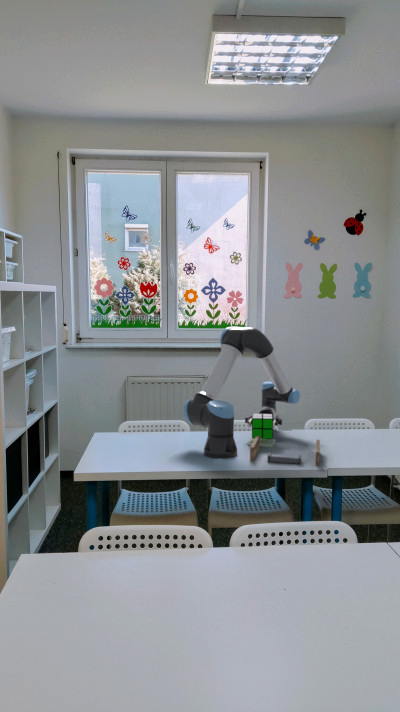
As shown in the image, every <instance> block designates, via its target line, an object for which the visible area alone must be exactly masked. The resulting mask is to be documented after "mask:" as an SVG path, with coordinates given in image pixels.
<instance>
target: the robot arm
mask: <svg viewBox="0 0 400 712" xmlns="http://www.w3.org/2000/svg"><path fill="white" fill-rule="evenodd" d="M219 338H220V341H219V344H220V346H219V347H220V350H221V351H220V353H219V354H218V357H217V359H216V360H215V363H214V364H213V367H212V369H211V370H210V373H209V375H208V376H207V378H206V380H205V381H204V384H203V386H202V388H201V390H200V391H197V392H196V393H195V394H194V396H193V398H189V399H188V400H186V402H185V403H184V405H183V408H182V410H183V411H182V412H183V417H184V419H185V421H186V422H187V423H189V424H191V425H194V426H200V427H202V428H206V429H207V437H206V441H205V444H204V447H203V454H204V456H206V457H209V458H212V459H214V458H215V459H228V458H229V459H230V458H233V457H235V456H237V455H238V448H237V447H238V446H237V444H236V441H235V438H234V432H235V431H234V429H235V425H234V424H235V412H234V410H235V409H234V408H235V407H234V406H233V404H232V403H230V402H228V401H225V400H220V399H219V400H218V398H219V395H220V393H221V392H222V391H223V388H224V386H225V384H226V381H227V380H228V377H229V375H230V373H231V372H232V370H233V368H234V365H235V363H236V362H237V360H238V359H240V358H242V356H243V354H244V352H251V353H252V354H254V356H255V358H257V359H259V360H260V362H261V365H262V366H263V368H264V370H265V372H266V373H267V375H268V377H269V379H270V380H271V381H264V382H263V383H262V384H261V409H260V411H259V413H258V414H272V415H273V430H274V429H275V428H276V426H279V425H280V426H282V425H283V419H281V417H280V416H279V415H276V413H277V402H280V403H284V404H289V405H291V404H292V405H296V404H298V403H299V401H300V399H301V393H300V391H299V390H298V389H296V388H294V389H293V387H292V385H291V383H290V381H289V379H288V377H287V375H286V374H285V372H284V370H283V368H282V366H281V364H280V362H279V360H278V359H277V356H276V355H275V353H274V347H273V346H274V345H272V343H271V341H270V339H268V337H267V336H266V335H265V334H264V333H263V332H262V331H260V330H259V328H258V329H257V328H255V327H252V326H251V327H247V326H246V327H245V326H244V327H243V326H228V327H226V328H225V329H224V330H222V332H221V334H220V337H219ZM244 423H245V424H247V425H248V428H252V414H251V415H248V416H246V417H245V418H244Z"/></svg>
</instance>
